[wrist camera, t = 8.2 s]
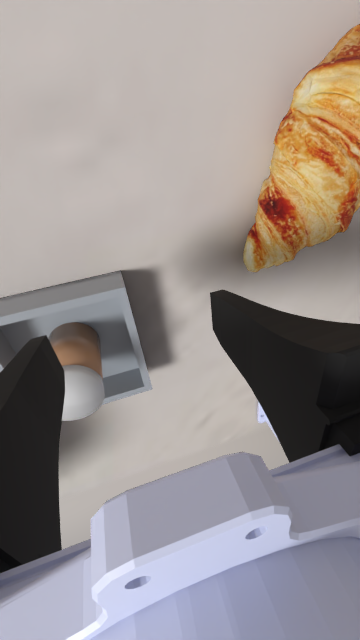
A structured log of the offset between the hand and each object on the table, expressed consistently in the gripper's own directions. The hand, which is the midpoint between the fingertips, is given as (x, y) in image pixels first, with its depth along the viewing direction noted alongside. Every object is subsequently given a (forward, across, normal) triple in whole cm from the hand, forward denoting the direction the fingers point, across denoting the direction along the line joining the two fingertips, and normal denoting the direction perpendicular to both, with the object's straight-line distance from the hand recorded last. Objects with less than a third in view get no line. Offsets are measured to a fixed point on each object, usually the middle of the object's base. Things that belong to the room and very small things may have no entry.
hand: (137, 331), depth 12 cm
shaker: (+9, +5, +6) cm, 12 cm away
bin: (+10, +5, +6) cm, 13 cm away
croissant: (+10, -17, -5) cm, 20 cm away
